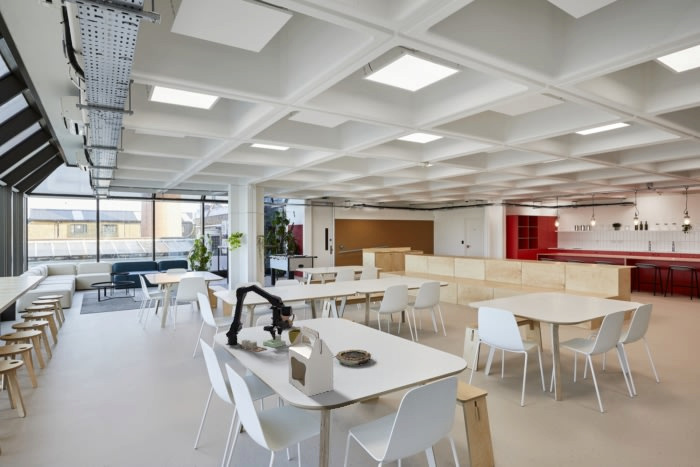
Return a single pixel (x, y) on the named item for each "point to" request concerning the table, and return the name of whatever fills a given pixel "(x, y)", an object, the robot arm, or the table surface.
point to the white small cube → (252, 344)
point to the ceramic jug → (288, 319)
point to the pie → (353, 357)
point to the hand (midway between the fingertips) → (276, 339)
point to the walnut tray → (254, 349)
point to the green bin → (274, 343)
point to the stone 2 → (277, 338)
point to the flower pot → (293, 334)
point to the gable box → (310, 363)
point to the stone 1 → (245, 343)
